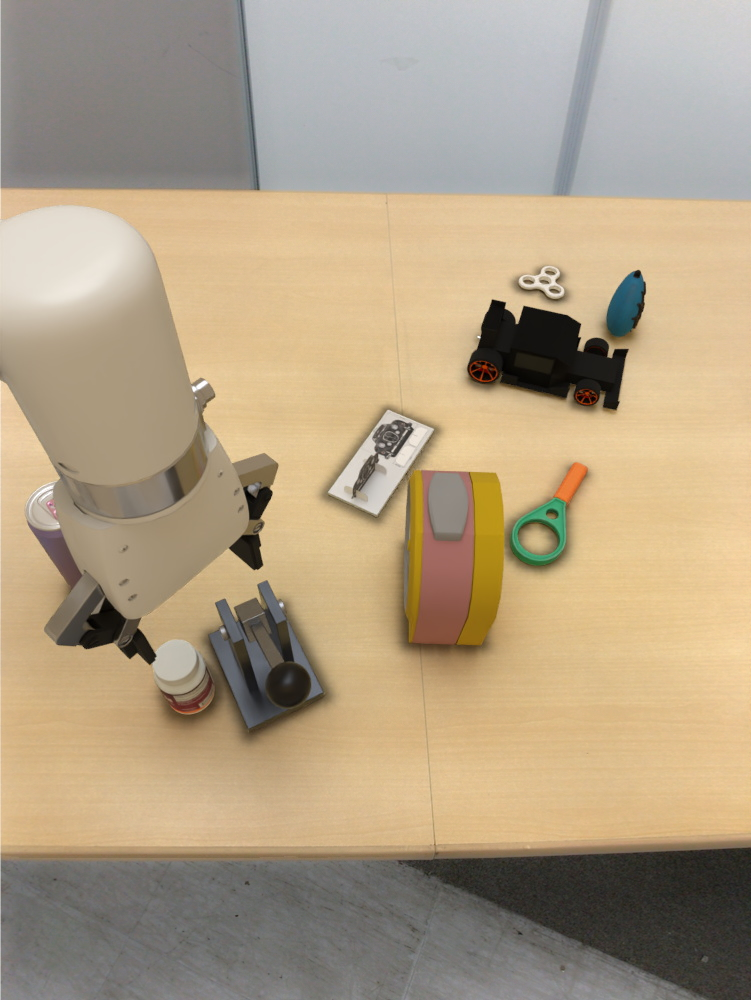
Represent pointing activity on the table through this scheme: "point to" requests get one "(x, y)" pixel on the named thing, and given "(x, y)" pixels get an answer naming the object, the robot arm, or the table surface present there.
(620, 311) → the ornament
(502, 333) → the toy race car
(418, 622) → the alarm clock
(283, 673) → the switch lever
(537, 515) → the magnifying glass
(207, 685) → the pill bottle
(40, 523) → the beverage can
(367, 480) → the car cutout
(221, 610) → the switch bracket
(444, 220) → the table surface
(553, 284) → the fidget spinner
